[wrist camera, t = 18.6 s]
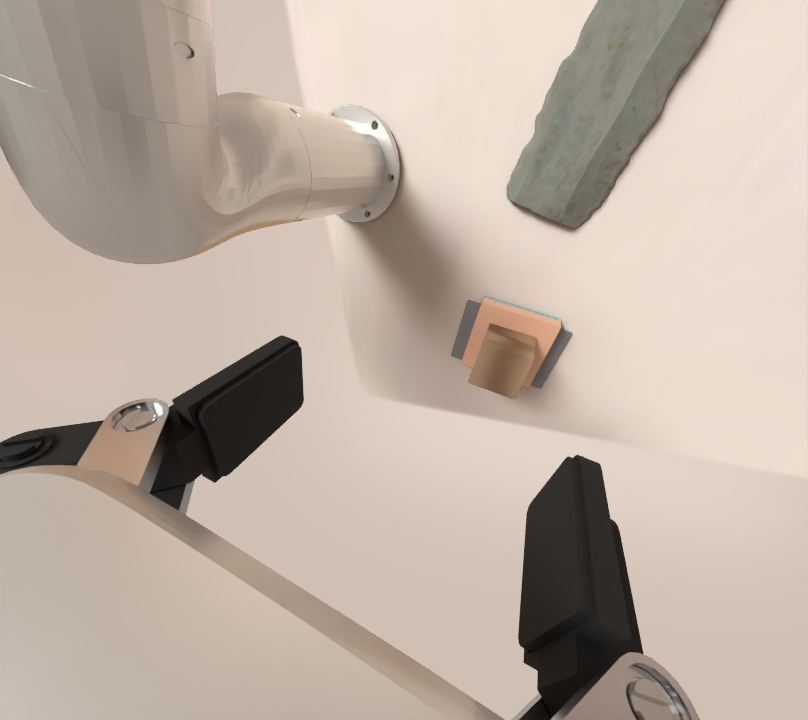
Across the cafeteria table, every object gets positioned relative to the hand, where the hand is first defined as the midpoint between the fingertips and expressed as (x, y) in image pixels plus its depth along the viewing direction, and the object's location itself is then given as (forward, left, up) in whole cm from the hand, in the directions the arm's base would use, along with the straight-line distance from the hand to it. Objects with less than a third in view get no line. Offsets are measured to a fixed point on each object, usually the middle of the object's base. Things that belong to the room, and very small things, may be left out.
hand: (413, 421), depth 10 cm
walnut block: (+4, -13, -31) cm, 33 cm away
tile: (+4, -7, -32) cm, 33 cm away
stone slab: (+3, +15, -34) cm, 37 cm away
